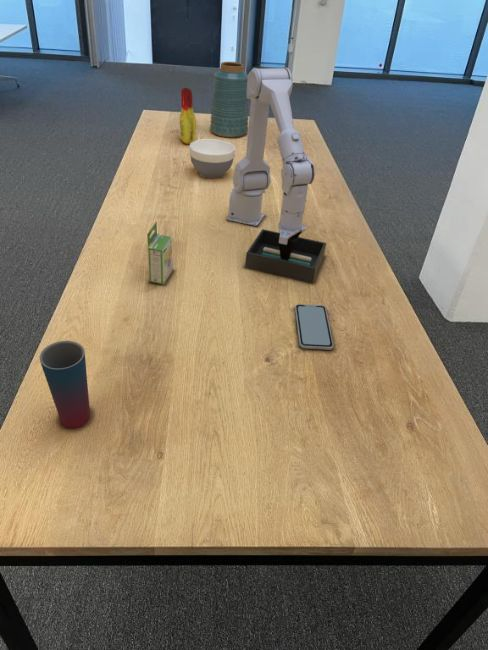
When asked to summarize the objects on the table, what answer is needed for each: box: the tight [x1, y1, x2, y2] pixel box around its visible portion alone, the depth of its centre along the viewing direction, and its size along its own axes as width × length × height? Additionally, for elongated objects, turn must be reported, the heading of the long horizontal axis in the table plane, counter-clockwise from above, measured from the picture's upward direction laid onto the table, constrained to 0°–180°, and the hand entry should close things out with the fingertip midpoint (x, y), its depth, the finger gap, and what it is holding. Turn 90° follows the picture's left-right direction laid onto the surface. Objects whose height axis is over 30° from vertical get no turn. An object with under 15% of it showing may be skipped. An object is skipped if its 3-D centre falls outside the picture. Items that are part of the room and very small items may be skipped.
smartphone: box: [294, 303, 334, 351], centre depth 113 cm, size 7×1×15 cm
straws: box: [262, 247, 312, 266], centre depth 134 cm, size 13×3×3 cm, turn 72°
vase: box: [209, 61, 249, 139], centre depth 208 cm, size 16×16×27 cm
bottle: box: [179, 87, 197, 145], centre depth 198 cm, size 12×6×20 cm, turn 10°
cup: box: [39, 340, 91, 429], centre depth 84 cm, size 7×7×15 cm
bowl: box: [188, 138, 236, 179], centre depth 177 cm, size 16×16×10 cm
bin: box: [244, 228, 327, 284], centre depth 134 cm, size 18×14×4 cm
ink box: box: [146, 221, 174, 286], centre depth 121 cm, size 7×4×13 cm, turn 168°
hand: (286, 255), depth 134 cm, fingers open, 3 cm apart
